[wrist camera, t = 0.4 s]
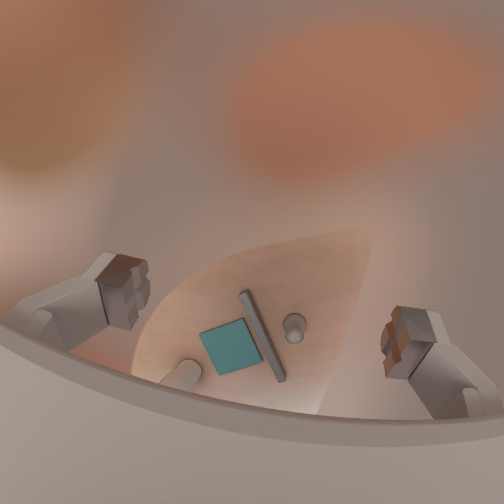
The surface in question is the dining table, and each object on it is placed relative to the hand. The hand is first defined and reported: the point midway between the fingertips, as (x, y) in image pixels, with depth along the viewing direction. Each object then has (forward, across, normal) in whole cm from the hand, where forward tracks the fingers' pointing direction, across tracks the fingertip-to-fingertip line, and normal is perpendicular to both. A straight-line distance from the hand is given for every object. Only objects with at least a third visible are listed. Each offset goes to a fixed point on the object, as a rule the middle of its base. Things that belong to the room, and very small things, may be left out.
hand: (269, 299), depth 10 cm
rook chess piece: (+38, +6, -38) cm, 54 cm away
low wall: (+37, +1, -41) cm, 55 cm away
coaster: (+35, -5, -45) cm, 57 cm away
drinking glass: (+32, -14, -52) cm, 63 cm away
